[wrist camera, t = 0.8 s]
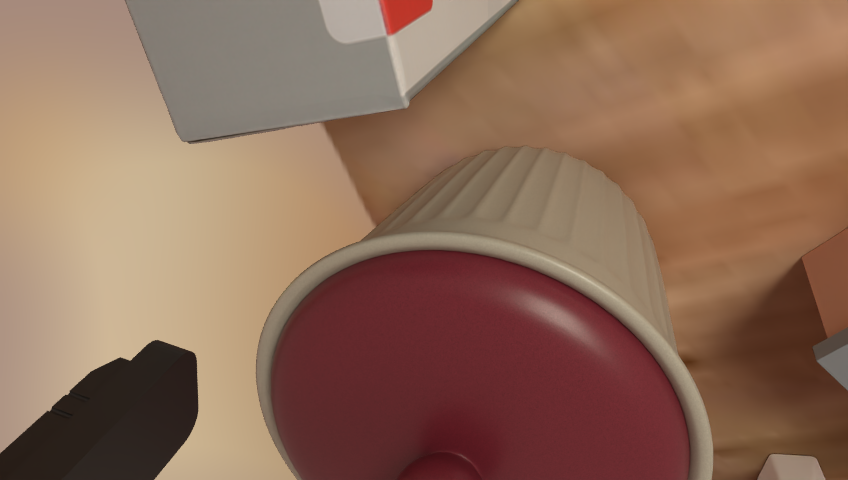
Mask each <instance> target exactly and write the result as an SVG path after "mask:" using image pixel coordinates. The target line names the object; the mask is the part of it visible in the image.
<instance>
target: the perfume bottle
mask: <svg viewBox="0 0 848 480" xmlns="http://www.w3.org/2000/svg"><path fill="white" fill-rule="evenodd" d="M757 480H825V477H824V475H823V473H822V470H821V468H820V466H819V463H818V461H817V459H816V458H815V457H812V456H799V455H783V454H771V455H770V456H769V457H768V459H767V461H766V463H765V465H764V467H763V469H762V471H761V472H760V474H759V476H758V479H757Z"/></svg>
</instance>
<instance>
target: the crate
mask: <svg viewBox="0 0 848 480" xmlns="http://www.w3.org/2000/svg"><path fill="white" fill-rule="evenodd" d="M802 260H803V263H804V266H805V270H806V273H807V276H808V279H809V282H810V285H811V288H812V291H813V294H814V298H815V301H816V304H817V307H818V310H819V313H820V316H821V319H822V322H823V326H824V329H825V332H826V335H827V338H829V337H831V336H833V335H834V334H836V333H838V332H840V331H842V330H843V329H845V328H847V327H848V228H847V229H845V230H843V231H842V232H840V233H839V234H837V235H836V236H834V237H832V238H831V239H829V240H828V241H826V242H825V243H823V244H821V245H820V246H818V247H817V248H815V249H814V250H812V251H810V252H809V253H807V254H806V255H804V256H803V257H802Z"/></svg>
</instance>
